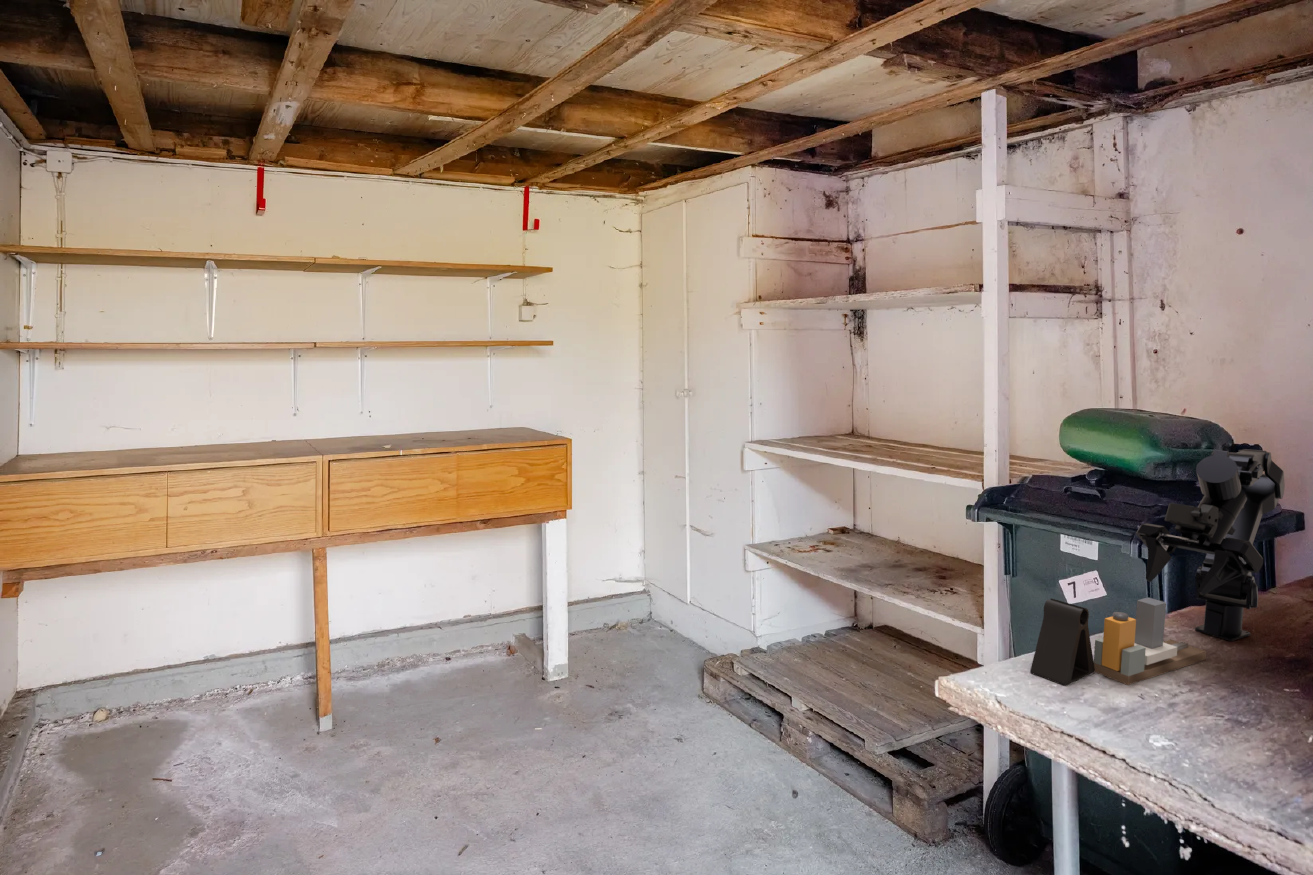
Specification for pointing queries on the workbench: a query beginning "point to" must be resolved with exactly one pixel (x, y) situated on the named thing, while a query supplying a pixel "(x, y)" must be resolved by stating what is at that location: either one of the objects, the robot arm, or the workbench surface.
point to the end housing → (1124, 658)
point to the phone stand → (1063, 644)
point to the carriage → (1152, 630)
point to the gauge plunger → (1117, 638)
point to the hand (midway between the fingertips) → (1173, 586)
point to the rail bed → (1157, 664)
